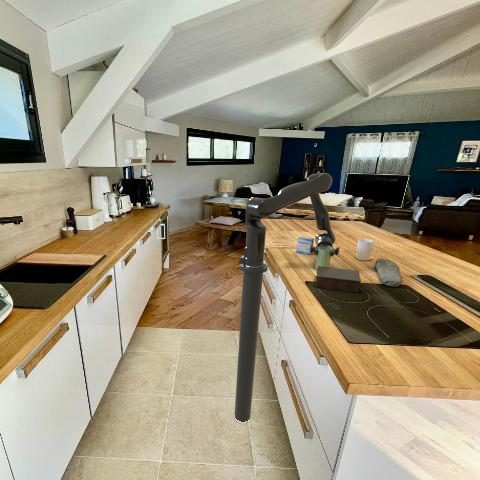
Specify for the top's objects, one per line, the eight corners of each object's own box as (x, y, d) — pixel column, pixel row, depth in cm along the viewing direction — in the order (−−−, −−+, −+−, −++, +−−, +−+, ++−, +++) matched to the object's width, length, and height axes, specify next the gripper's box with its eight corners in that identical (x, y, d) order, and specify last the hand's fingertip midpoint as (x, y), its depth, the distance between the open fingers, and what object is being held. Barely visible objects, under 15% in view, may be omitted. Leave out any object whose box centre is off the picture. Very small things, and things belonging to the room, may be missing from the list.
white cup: (355, 260, 165) (358, 241, 162) (353, 256, 172) (357, 238, 168) (371, 261, 163) (376, 242, 159) (369, 257, 169) (373, 239, 166)
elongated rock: (376, 288, 131) (404, 293, 127) (380, 276, 128) (408, 281, 125) (371, 262, 160) (393, 265, 156) (374, 252, 157) (397, 255, 154)
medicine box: (295, 252, 179) (297, 237, 176) (298, 251, 183) (300, 236, 179) (309, 254, 175) (312, 239, 172) (312, 253, 178) (314, 238, 175)
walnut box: (314, 287, 129) (316, 275, 127) (315, 276, 141) (317, 266, 139) (358, 293, 123) (361, 281, 121) (356, 281, 135) (358, 270, 133)
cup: (314, 269, 150) (317, 249, 147) (315, 265, 156) (318, 246, 152) (328, 271, 148) (331, 250, 145) (328, 267, 154) (331, 247, 150)
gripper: (310, 237, 163) (309, 244, 148) (341, 239, 157) (342, 247, 143) (308, 251, 165) (306, 259, 151) (338, 254, 160) (339, 263, 146)
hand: (324, 253), depth 147 cm, fingers closed on cup, 6 cm apart
